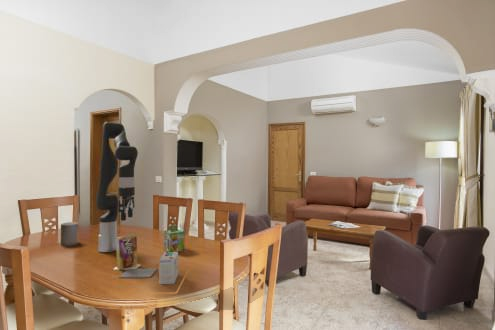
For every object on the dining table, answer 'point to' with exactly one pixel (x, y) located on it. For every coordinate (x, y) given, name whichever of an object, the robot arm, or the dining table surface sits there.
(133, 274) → the slate coaster
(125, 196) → the robot arm
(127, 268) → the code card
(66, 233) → the pillar candle
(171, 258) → the light bulb box
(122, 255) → the candy box
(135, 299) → the dining table surface
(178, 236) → the chalk box
